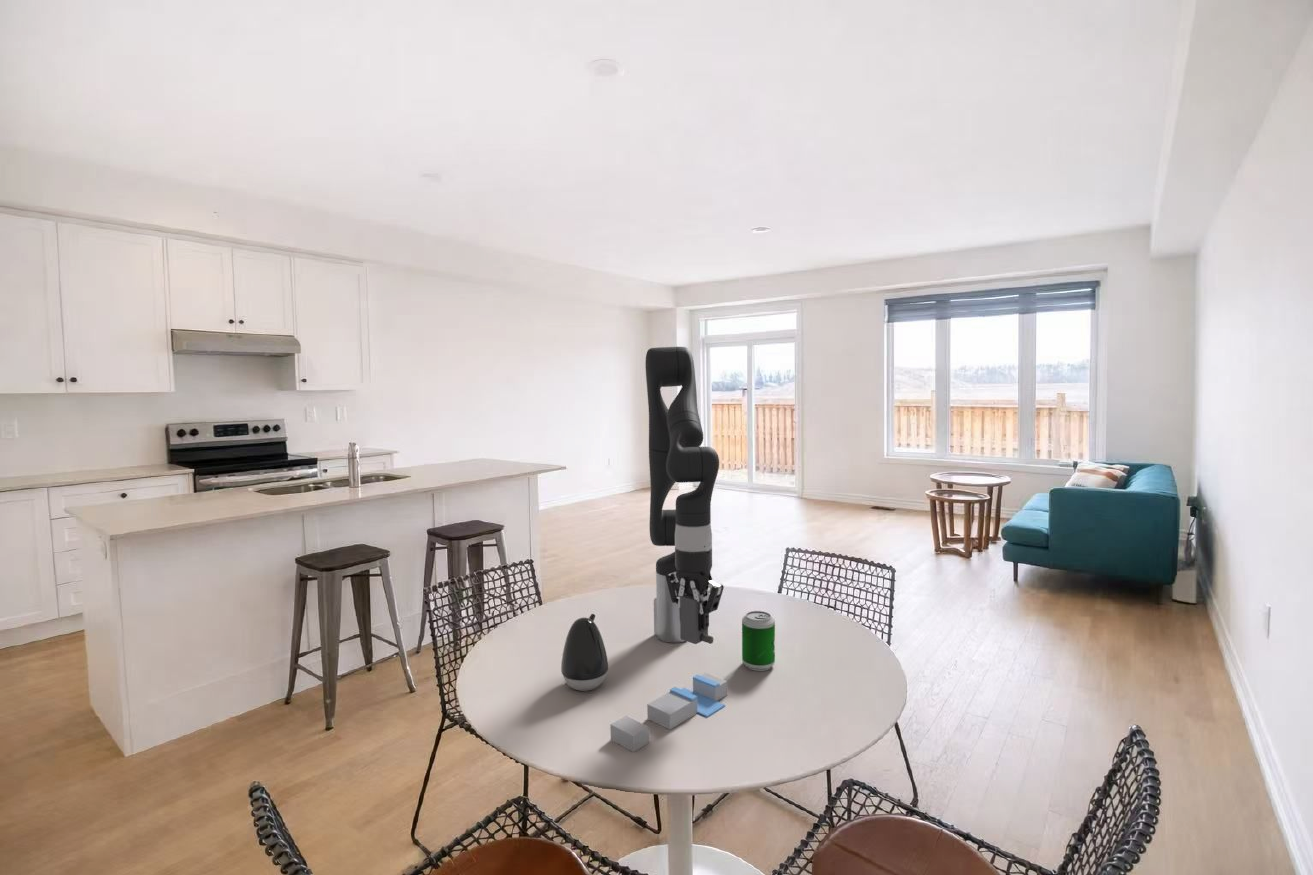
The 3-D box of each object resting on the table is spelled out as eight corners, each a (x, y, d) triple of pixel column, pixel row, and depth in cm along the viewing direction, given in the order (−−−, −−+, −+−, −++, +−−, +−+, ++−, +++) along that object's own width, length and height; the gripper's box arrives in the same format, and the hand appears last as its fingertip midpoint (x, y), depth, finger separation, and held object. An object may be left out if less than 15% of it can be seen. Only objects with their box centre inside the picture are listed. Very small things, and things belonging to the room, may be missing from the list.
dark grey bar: (680, 639, 133) (679, 596, 132) (693, 633, 136) (692, 591, 135) (705, 647, 128) (704, 603, 127) (717, 641, 131) (717, 598, 130)
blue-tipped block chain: (601, 734, 123) (601, 716, 122) (696, 682, 143) (696, 666, 143) (643, 757, 115) (643, 738, 115) (736, 698, 135) (736, 682, 135)
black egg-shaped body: (616, 677, 146) (614, 612, 144) (596, 699, 136) (595, 629, 134) (575, 671, 149) (573, 607, 148) (553, 692, 139) (551, 624, 138)
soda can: (774, 673, 146) (774, 622, 145) (741, 671, 148) (740, 620, 147) (775, 659, 154) (775, 610, 153) (743, 657, 155) (743, 608, 154)
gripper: (655, 543, 133) (656, 624, 135) (709, 555, 123) (710, 642, 125) (679, 536, 139) (680, 614, 140) (733, 547, 129) (733, 630, 130)
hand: (694, 626), depth 133 cm, fingers closed on dark grey bar, 4 cm apart
